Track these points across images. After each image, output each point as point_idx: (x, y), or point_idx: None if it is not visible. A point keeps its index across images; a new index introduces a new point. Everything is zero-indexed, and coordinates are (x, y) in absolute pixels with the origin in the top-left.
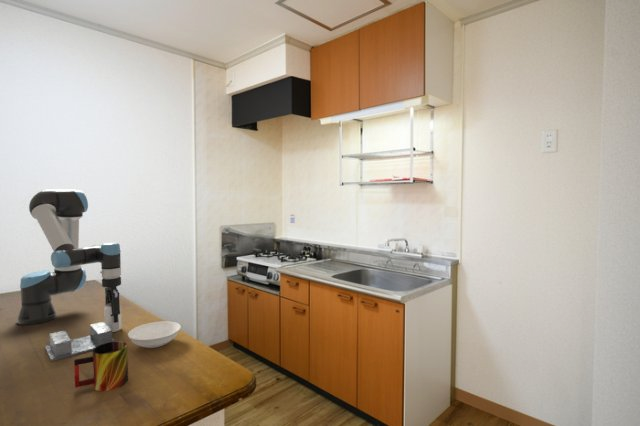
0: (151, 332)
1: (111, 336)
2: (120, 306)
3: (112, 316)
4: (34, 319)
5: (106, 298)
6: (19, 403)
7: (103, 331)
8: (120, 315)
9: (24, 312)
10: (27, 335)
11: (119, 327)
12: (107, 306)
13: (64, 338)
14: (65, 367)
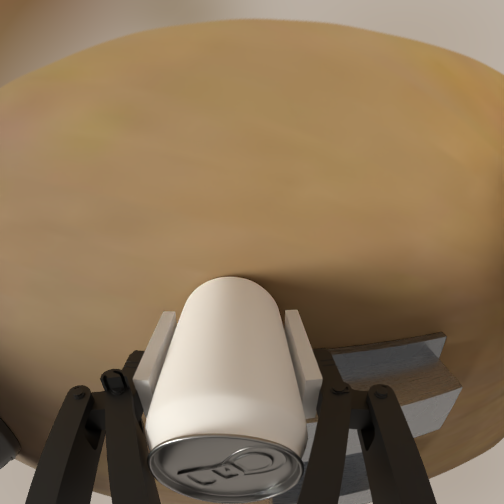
0: None
1: (446, 372)
2: (244, 395)
3: (314, 409)
4: (11, 449)
5: (86, 502)
6: (478, 451)
7: (438, 416)
8: (266, 339)
9: (1, 467)
10: (103, 479)
11: (271, 301)
12: (266, 497)
13: (368, 494)
14: (442, 436)
